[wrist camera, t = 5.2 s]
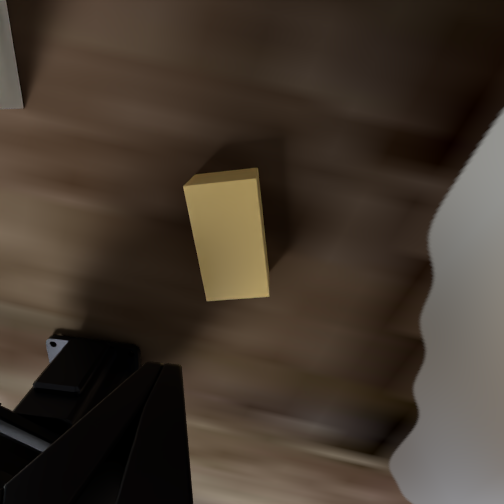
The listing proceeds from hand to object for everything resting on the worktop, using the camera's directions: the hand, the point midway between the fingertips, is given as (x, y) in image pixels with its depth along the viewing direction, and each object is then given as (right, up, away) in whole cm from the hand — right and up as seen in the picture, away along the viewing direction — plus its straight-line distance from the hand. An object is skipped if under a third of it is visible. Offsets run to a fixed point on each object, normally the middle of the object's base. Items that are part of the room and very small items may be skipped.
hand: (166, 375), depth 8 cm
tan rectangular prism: (+1, +5, +11) cm, 12 cm away
